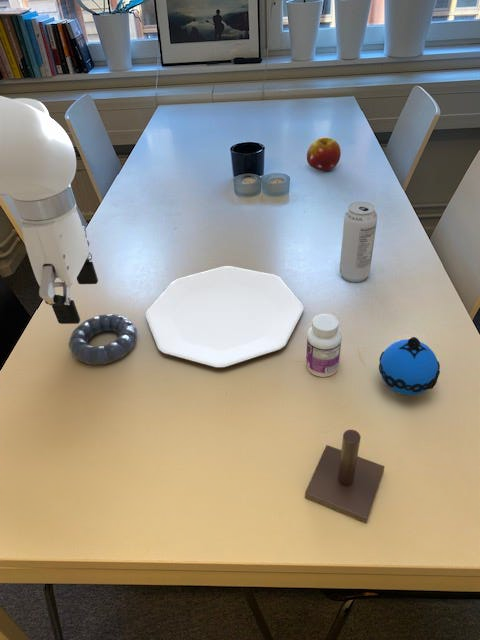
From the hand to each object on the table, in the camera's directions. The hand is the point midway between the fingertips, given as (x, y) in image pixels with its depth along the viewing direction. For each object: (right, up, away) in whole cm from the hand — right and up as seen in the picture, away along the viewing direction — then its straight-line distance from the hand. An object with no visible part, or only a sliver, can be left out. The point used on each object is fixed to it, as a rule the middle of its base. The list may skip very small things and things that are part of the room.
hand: (79, 301), depth 76 cm
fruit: (+49, +41, +64) cm, 90 cm away
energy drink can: (+48, +6, +23) cm, 54 cm away
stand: (+39, -24, -12) cm, 47 cm away
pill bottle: (+38, -11, +4) cm, 40 cm away
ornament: (+50, -13, 0) cm, 52 cm away
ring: (+1, -6, +10) cm, 12 cm away
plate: (+22, -2, +16) cm, 27 cm away
